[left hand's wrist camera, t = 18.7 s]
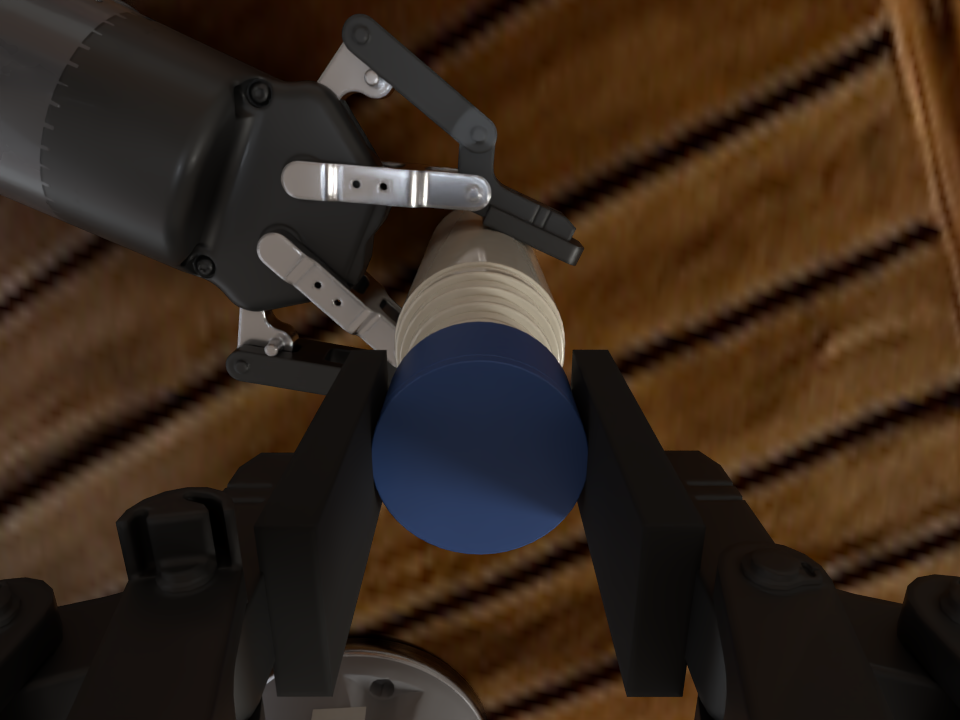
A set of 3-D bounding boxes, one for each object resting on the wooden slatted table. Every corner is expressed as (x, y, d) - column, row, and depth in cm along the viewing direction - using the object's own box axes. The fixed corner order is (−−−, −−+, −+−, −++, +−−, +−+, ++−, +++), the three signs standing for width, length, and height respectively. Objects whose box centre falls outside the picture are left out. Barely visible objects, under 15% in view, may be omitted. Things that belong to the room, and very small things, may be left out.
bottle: (411, 229, 30) (311, 389, 12) (506, 186, 30) (549, 288, 12) (454, 320, 32) (421, 581, 14) (546, 281, 31) (637, 501, 13)
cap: (587, 332, 14) (607, 374, 12) (556, 498, 15) (569, 564, 13) (394, 310, 14) (377, 347, 11) (381, 480, 15) (363, 544, 13)
